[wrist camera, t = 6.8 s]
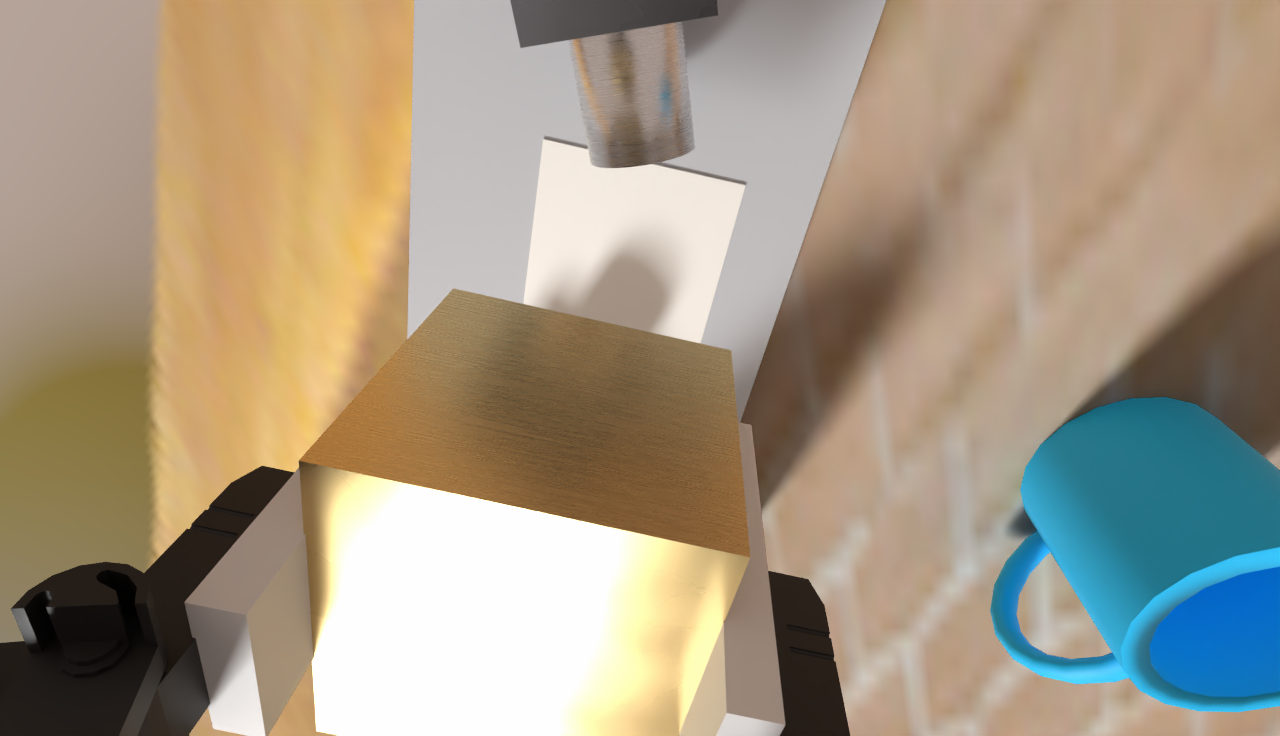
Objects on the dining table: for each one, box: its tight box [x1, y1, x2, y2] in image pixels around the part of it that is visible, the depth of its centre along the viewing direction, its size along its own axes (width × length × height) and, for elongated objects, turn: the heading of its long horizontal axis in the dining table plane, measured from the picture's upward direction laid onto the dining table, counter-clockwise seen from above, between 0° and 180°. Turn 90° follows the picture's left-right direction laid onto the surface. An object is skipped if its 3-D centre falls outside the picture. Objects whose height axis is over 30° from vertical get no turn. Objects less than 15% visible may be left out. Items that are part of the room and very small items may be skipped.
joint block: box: [299, 288, 750, 736], centre depth 13 cm, size 6×6×6 cm
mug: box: [990, 397, 1280, 712], centre depth 26 cm, size 12×8×8 cm
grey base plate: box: [408, 0, 886, 422], centre depth 24 cm, size 24×14×1 cm, turn 169°
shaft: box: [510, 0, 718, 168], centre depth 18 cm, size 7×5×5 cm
